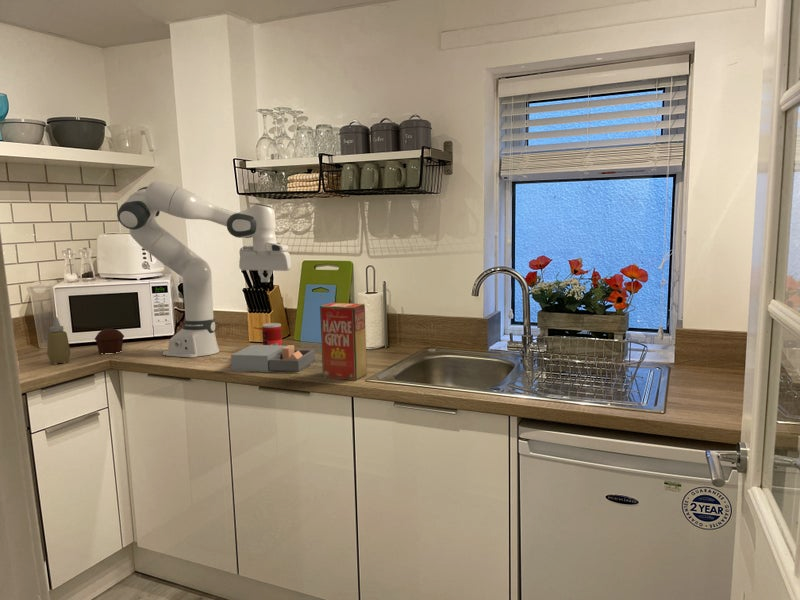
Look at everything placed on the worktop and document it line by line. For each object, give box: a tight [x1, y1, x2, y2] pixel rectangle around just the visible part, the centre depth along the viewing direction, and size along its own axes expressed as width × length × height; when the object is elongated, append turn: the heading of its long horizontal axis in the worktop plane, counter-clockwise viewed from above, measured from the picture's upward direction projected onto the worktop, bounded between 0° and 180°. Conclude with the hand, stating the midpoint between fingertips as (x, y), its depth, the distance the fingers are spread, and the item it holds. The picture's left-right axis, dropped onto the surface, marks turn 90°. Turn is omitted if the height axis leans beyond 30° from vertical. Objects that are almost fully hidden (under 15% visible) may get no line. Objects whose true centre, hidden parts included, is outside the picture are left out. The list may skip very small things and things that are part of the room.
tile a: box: [287, 349, 303, 360], centre depth 222 cm, size 6×6×2 cm
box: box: [269, 349, 316, 373], centre depth 227 cm, size 11×18×4 cm, turn 169°
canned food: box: [261, 322, 283, 345], centre depth 257 cm, size 8×8×11 cm
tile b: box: [282, 344, 295, 360], centre depth 231 cm, size 6×6×2 cm
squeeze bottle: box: [46, 316, 72, 365], centre depth 240 cm, size 8×8×18 cm
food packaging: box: [319, 302, 368, 381], centre depth 211 cm, size 13×9×25 cm
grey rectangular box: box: [230, 344, 287, 373], centre depth 230 cm, size 14×18×6 cm
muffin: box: [94, 327, 125, 354], centre depth 259 cm, size 12×11×10 cm
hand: (265, 282), depth 239 cm, fingers closed
